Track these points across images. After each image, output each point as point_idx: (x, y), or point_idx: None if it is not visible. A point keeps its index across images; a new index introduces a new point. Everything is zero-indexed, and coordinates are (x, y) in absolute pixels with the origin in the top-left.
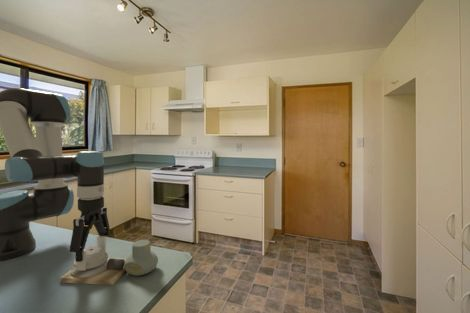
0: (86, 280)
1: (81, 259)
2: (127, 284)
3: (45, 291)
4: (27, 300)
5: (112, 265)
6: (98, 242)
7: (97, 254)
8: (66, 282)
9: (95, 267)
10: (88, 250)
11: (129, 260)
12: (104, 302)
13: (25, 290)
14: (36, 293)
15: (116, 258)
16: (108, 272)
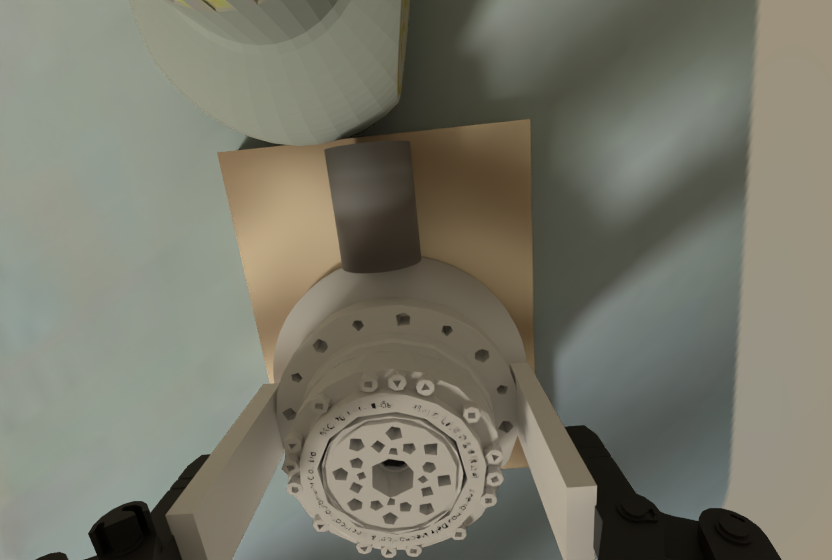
0: (532, 311)
1: (576, 436)
2: (501, 16)
3: None
4: (675, 474)
5: (416, 210)
6: (248, 508)
7: (435, 374)
8: None
9: None
10: (412, 489)
11: (378, 32)
12: (699, 57)
13: None
14: None
15: (251, 290)
16: (438, 223)
